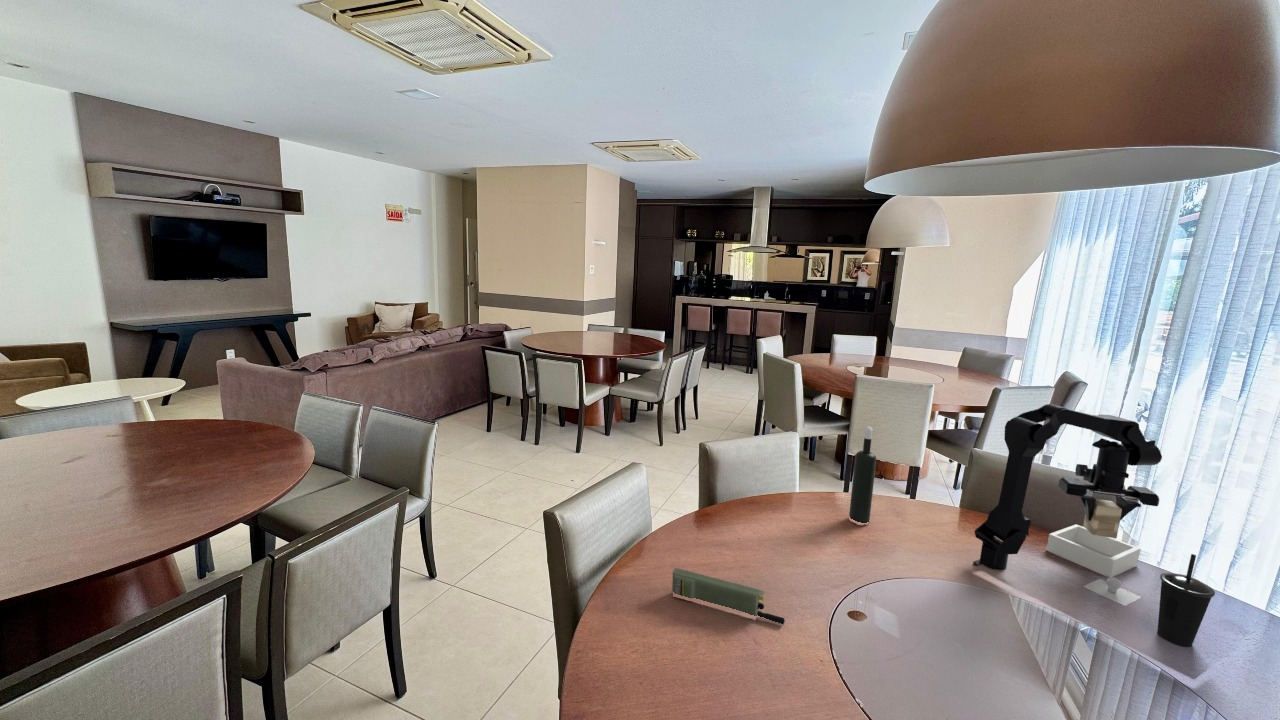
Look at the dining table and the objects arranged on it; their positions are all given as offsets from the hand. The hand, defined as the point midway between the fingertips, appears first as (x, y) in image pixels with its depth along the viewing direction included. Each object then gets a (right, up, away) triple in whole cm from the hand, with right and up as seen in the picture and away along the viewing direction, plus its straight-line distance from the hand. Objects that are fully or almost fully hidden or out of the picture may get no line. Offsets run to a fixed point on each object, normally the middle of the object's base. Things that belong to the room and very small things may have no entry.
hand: (1101, 521), depth 132 cm
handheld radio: (-102, -13, -20) cm, 104 cm away
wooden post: (0, -3, 0) cm, 3 cm away
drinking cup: (-9, -17, -27) cm, 33 cm away
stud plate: (-8, -14, -11) cm, 20 cm away
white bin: (0, -12, +4) cm, 12 cm away
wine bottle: (-54, -7, +23) cm, 59 cm away
